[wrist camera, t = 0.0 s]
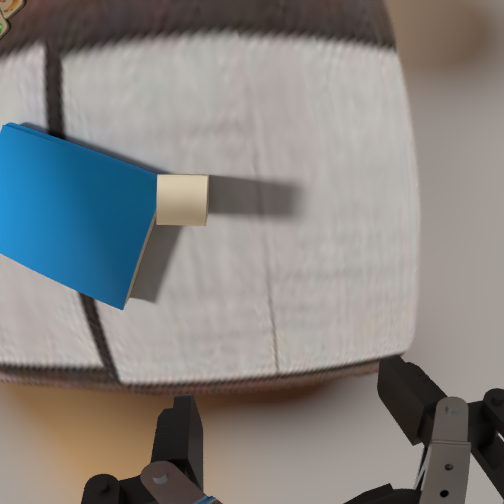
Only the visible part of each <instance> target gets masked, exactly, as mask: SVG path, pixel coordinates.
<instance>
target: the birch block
mask: <svg viewBox="0 0 504 504" xmlns="http://www.w3.org/2000/svg"><path fill="white" fill-rule="evenodd" d="M209 181H210V175H194V174H163V175H157V216H156V225H190V226H206V222H207V216H208V204H209Z"/></svg>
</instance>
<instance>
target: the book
mask: <svg viewBox="0 0 504 504" xmlns="http://www.w3.org/2000/svg"><path fill="white" fill-rule="evenodd" d="M157 175H158V174H155V173H153V172H150V171H147V170H145V169H142V168H139V167H137V166H134V165H131V164H129V163H126V162H123V161H121V160H118V159H115V158H113V157H110V156H107V155H104V154H102V153H99V152H96V151H93V150H91V149H88V148H85V147H82V146H79V145H76V144H74V143H71V142H68V141H65V140H62V139H59V138H56V137H54V136H51V135H48V134H45V133H42V132H39V131H36V130H33V129H30V128H27V127H24V126H21V125H18V124H15V123H7V124H6V125H3V127H2V130H1V133H0V253H1V254H3V255H5V256H7V257H9V258H11V259H13V260H14V261H16V262H18V263H20V264H22V265H24V266H26V267H28V268H30V269H32V270H34V271H36V272H38V273H40V274H42V275H44V276H46V277H48V278H50V279H53V280H55V281H57V282H59V283H61V284H63V285H65V286H67V287H70V288H72V289H74V290H76V291H78V292H81V293H83V294H85V295H87V296H90V297H92V298H94V299H97V300H99V301H101V302H104V303H106V304H108V305H111V306H113V307H116V308H118V309H120V310H123V309H124V306H125V304H126V303H127V301H128V299H129V298H130V294H131V291H132V288H133V285H134V281H135V278H136V275H137V272H138V269H139V266H140V263H141V260H142V257H143V254H144V251H145V248H146V245H147V242H148V239H149V236H150V233H151V231H152V228H153V225H154V222H155V219H156V216H157Z"/></svg>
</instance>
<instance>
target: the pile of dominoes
mask: <svg viewBox="0 0 504 504" xmlns="http://www.w3.org/2000/svg"><path fill="white" fill-rule="evenodd" d="M24 3H25V1H24V0H0V39H1V38H2V37H3V36H4V35H5V34H6V33H7V32H8V30H9V24H8V22H7V19H10V18H11V17H12V16H13V15H14V14H15V13H17V12H18V11H19V10H20V9H21V8H22V7H23V6H24Z"/></svg>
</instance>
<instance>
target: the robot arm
mask: <svg viewBox="0 0 504 504" xmlns="http://www.w3.org/2000/svg"><path fill="white" fill-rule="evenodd" d="M377 390H378V394H379V397H380V399H381V400H382V402H383V403H384V405H385V406H386V407H387V409H388V410H389V412H390V413H391V415H392V416H393V418H394V419H395V421H396V422H397V423H398V425H399V426H400V428H401V429H402V431H403V432H404V434H405V435H406V437H407V438H408V439H409V441H410V442H411V444H412V445H413V446H414V445H416V444H419V443H421V442H422V443H423V444H424V448H423V451H422V456H421V460H420V465H419V469H418V473H417V477H416V481H415V484H414V487H413V489H393V488H392V486H391V484H390V483H389V484H386V485H383V486H381V487H378V488H375V489H372V490H369V491H366V492H364V493H362V494H360V495H358V496H357V497H355V498H353V499H351V500H349V501H348V502H346V503H344V504H464V503H465V497H466V490H467V483H468V474H469V464H470V453H472V455H473V456H474V458H475V459H476V460H477V462H478V463H479V465H480V466H481V467H482V469H483V470H484V472H485V473H486V475H487V476H488V477H489V479H490V480H491V482H492V483H493V485H494V486H495V488H496V489H497V491H498V492H499V494H500V495H501V497H502V498H503V499H504V442H503V440H502V439H501V438H500V437H499V436H498V433H500V434H501V435H502V437H503V438H504V390H503V389H499V388H496V389H491V390H489V391H488V392H486V394H485V395H484V398H483V400H482V401H477V402H472V403H466V402H465V401H464V400H463V399H461V398H458V397H448V396H447V395H446V394H445V393H444V392H443V391H442V390H441V389H440V388H439V387H438V386H437V385H436V384H435V383H434V382H433V381H432V380H430V378H429V376H428V375H426V374H425V373H424V371H423V370H422V369H421V368H420V367H419V366H417V365H415V364H413V363H410V362H407V363H405V362H404V361H403V359H402V358H401V357H400V356H399V355H393V356H389V357H386V358H383V359H381V360H380V364H379V374H378V383H377ZM155 435H156V436H155V439H154V444H153V450H152V457H151V462H150V464H149V465H147V466H146V467H145V468H144V469H143V470H142V472H141V474H140V475H138V476H136V477H133V478H128V479H124V480H120V481H118V480H117V479H116V478H115V477H114V476H112V475H109V474H99V475H95V476H93V477H92V478H90V479H89V480H88V481H87V483H86V485H85V488H84V492H83V497H82V502H81V504H222V503H221V502H220V501H218V500H217V499H216V498H215V497H213V496H210V497H208V496H207V495H206V494H204V493H203V427H202V422H201V418H200V415H199V412H198V409H197V405H196V402H195V398H194V396H193V395H182V396H175V398H174V405H173V408H170V409H164V410H163V412H162V413H161V414H160V415H159V417H158V421H157V428H156V432H155ZM503 504H504V501H503Z"/></svg>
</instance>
